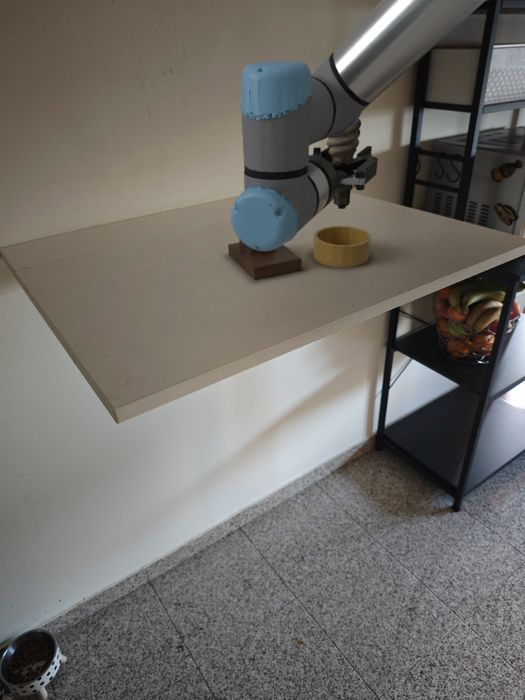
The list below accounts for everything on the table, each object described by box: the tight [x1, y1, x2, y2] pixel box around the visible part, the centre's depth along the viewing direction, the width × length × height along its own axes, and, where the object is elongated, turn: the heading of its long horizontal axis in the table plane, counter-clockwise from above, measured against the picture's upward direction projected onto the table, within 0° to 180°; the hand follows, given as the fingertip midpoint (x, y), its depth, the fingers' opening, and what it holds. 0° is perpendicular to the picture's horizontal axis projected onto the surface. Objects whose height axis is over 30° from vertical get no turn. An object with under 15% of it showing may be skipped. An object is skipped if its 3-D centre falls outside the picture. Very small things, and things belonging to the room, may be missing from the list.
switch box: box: [227, 238, 302, 281], centre depth 90 cm, size 12×9×4 cm
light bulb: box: [326, 118, 362, 210], centre depth 82 cm, size 6×6×15 cm
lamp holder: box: [312, 225, 372, 268], centre depth 92 cm, size 10×10×4 cm
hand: (351, 153), depth 86 cm, fingers closed on light bulb, 5 cm apart
